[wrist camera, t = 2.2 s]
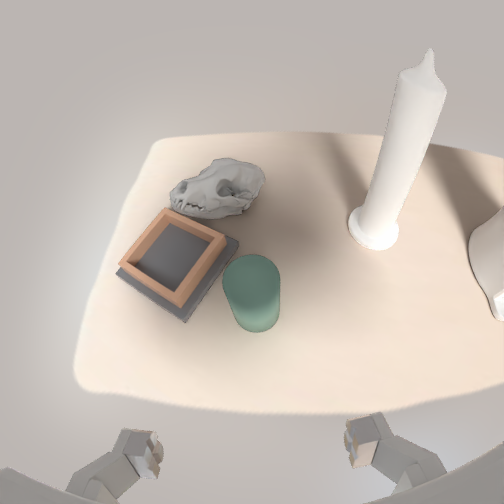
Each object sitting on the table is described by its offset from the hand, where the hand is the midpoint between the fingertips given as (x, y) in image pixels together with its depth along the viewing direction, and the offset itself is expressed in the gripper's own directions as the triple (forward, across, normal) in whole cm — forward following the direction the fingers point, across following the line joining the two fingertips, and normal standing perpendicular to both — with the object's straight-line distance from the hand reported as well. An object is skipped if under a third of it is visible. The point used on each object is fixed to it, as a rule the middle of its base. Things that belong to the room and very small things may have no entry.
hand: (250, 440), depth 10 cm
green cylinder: (+22, 0, +4) cm, 22 cm away
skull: (+33, +3, -7) cm, 34 cm away
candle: (+28, -17, -3) cm, 33 cm away
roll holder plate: (+27, +9, -1) cm, 28 cm away
